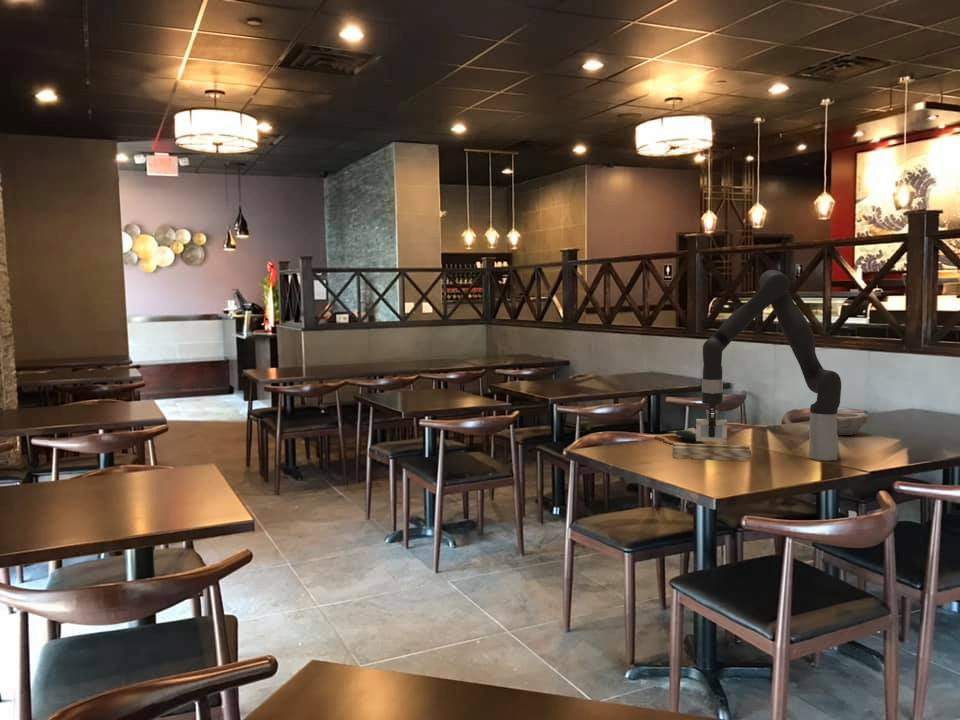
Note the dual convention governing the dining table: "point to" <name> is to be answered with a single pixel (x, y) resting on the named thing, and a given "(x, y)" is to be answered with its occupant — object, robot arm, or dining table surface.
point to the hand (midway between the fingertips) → (711, 436)
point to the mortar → (850, 422)
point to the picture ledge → (712, 452)
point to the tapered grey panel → (703, 431)
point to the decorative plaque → (683, 437)
